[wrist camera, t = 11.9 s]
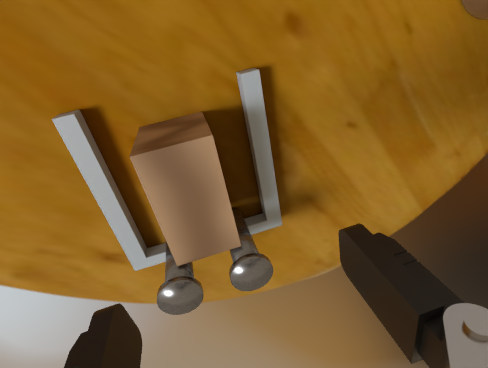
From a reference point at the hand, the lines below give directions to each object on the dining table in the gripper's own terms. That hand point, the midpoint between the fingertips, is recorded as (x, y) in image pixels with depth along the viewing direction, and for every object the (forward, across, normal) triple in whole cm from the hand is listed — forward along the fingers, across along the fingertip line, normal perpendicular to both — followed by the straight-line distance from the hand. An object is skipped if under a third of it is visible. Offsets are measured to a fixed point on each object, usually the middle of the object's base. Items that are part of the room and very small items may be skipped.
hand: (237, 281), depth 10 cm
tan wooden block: (+18, +2, +3) cm, 18 cm away
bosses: (+18, +2, +10) cm, 20 cm away
